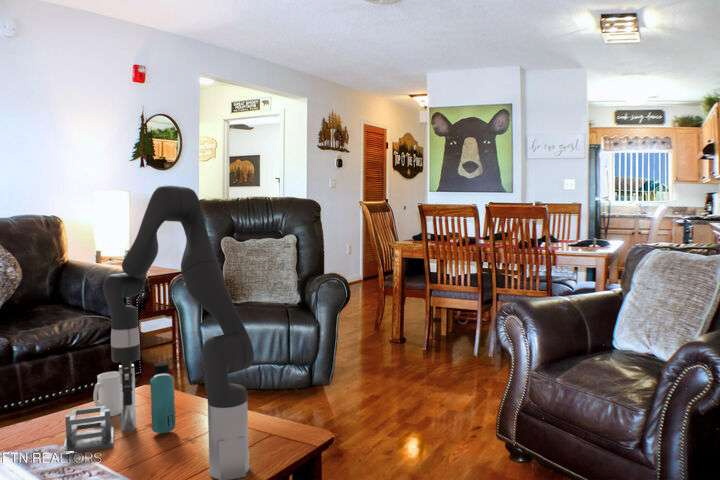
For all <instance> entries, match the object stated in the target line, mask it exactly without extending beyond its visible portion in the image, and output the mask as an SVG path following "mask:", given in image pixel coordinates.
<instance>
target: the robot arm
mask: <svg viewBox="0 0 720 480" xmlns="http://www.w3.org/2000/svg"><path fill="white" fill-rule="evenodd" d="M204 217H205V216H204V214H203V210H202V205H201V203H200V199H199V196H198V195H197V193H196V192H195V190H194V189H192V188H190V187H186V186H178V185H167V184H164V185H160V186H157V188H155V190H154V191H153V192H152V194H151V197H150V199H149V201H148V203H147V207H146V209H145V212H144V214H143V217H142V220H141V223H140V225H139V229H138V232H137V234H136V237H135V239H134V241H133V243H132V245H131V247H130V248H129V249H128V251H127V253H126V255H125V256H124V258H123V260H122V263H121V269H122V271H123V272H121V273H112V274H109V275H107V276H106V277H105V279H104V282H103V284H102V290H103V295H104V297H105V300H106V304H107V306H108V310H109V313H110V321H111V324H110V325H111V331H110V347H111V348H110V349H111V350H110V351H111V361H112V362H113V363H121V365H119V366H118V372H119V374H120V382H121V384H122V386H123V390H122V392H123V399H124V406H128V405H132V391H133V388H132V383H133V382H134V379H133V373H134V371H135V365H134V364H133V363H132V362H135V361H137V360H139V359H140V358H141V345H140V344H141V343H140V331H139V317H138V316H139V314H138V309H137V307H136V306H134V305H126V304H125V302H124V299H126V298H132V297H136V296H138V295H139V294H141V293H142V291H143V290H144V288H145V283H146V279H147V274H148V271H149V270H150V268H151V266H152V265H153V263H154V262H155V261H156V258H157V256H158V252H159V241H158V230H159V229H160V228H161V226H162V225H163V224H164V223H165V222H179V223H181V226H182V228H183V232H184V234H185V235H184V236H185V240H186V241H185V242H186V243H185V248H184V251H183V253H182V258H181V262H180V271H181V275H182V277H183V281H184V284H185V286H186V289H187V291H188V294H189V295H190V296H191V297H192V298H193V300H194V301H195V302H196V303H197V304H199V306H200V307H202V308H203V309H204V310H206V312H208V313H209V314H210V315H211V316H212V317H213V318H214V319H215V321H216V323H218V325H219V327H220V329H221V331H222V334H219V335H216V336H211V337H208V338H207V339H206V340H205V342H204V343H203V347H202V365H203V378H204V389H205V393H206V397H207V421H208V422H207V427H208V428H207V429H208V430H207V431H208V457H209V458H208V461H209V475H210V477H212V478H214V479H215V480H235V479H241V478H246V477H247V473H248V472H249V471H250V461H249V459H250V458H249V454H250V453H249V452H250V451H249V423H248V422H249V417H248V416H249V415H248V414H249V413H248V411H249V409H248V408H249V407H248V390H247V388H246V387H245V386H244V385H241V384H239V383H231V382H230V381H229V374H232V373H237V372H240V371H245V370H246V369H249V368H251V366H253V364H254V363H253V362H254V361H255V360H254V359H255V351H254V347H253V343H252V341H251V338H250V335H249V334H248V331H247V329H246V328H245V325H244V324H243V321H242V319H241V316H240V315H239V313H238V311H237V309H236V306H235V304H234V301H233V298H232V296H231V294H230V292H229V289H228V286H227V283H226V281H225V277H224V274H223V271H222V268H221V266H220V263H219V261H218V258H217V256H216V253H215V251H214V248H213V244H212V242H211V238H210V235H209V233H208V230H207V226H206V221H205V218H204ZM132 365H134V367H131V366H132ZM119 367H122V368H119ZM126 385H130V387H129V388H124V386H126Z"/></svg>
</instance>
